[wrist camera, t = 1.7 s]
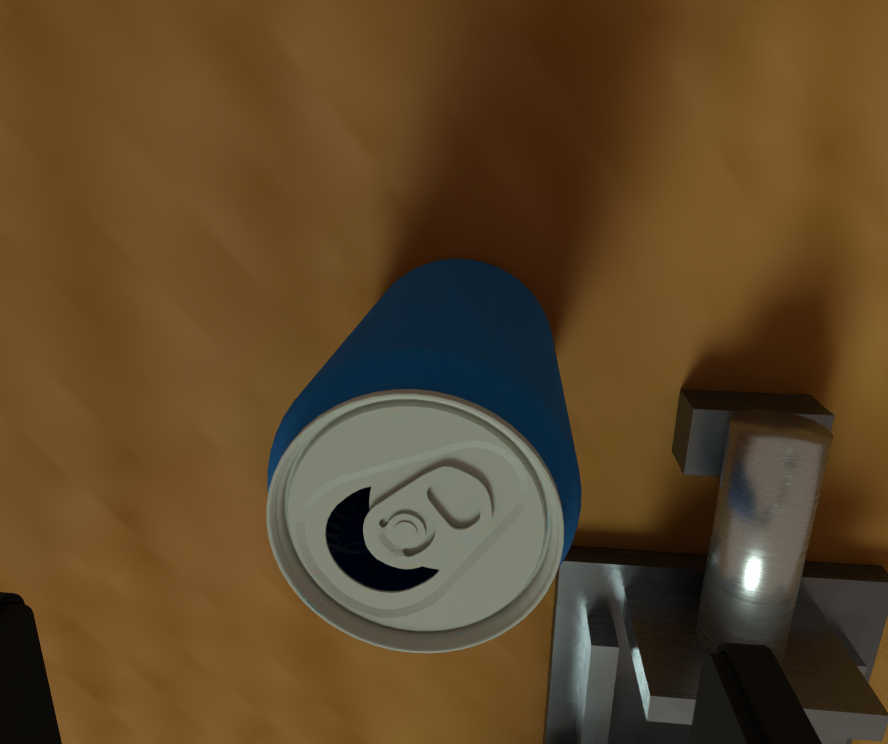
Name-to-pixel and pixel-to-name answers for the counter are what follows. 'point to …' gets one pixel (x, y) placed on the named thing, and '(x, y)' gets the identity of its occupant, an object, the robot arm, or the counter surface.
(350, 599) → the beverage can
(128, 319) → the counter surface
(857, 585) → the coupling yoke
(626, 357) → the counter surface
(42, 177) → the counter surface
